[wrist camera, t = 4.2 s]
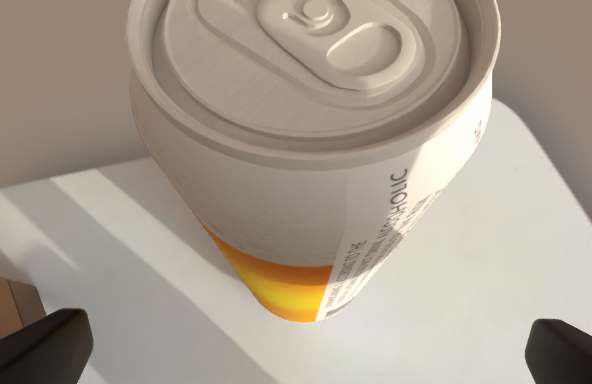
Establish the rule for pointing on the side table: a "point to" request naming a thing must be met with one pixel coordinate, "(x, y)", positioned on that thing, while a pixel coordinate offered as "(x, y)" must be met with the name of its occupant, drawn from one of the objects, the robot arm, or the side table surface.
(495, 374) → the side table surface
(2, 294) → the riser
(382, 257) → the beer can
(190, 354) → the side table surface
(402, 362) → the side table surface
